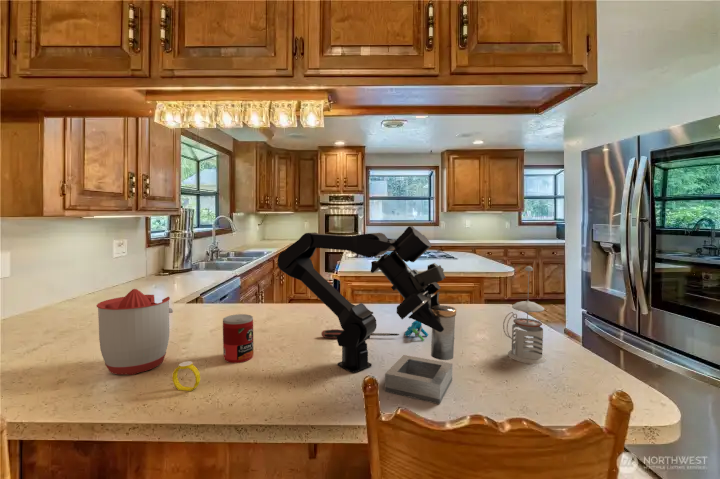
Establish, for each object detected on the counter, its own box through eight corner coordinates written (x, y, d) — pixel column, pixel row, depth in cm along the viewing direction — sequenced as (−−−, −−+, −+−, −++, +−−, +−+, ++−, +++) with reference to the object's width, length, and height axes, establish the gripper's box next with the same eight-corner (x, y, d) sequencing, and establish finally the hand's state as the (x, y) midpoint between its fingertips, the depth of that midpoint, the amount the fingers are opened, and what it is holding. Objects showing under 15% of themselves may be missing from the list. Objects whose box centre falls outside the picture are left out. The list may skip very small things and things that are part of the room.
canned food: (241, 365, 91) (240, 323, 91) (216, 360, 94) (215, 320, 93) (259, 354, 98) (259, 315, 98) (236, 350, 101) (235, 313, 101)
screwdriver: (398, 337, 114) (399, 328, 113) (399, 340, 111) (399, 331, 110) (322, 336, 114) (322, 327, 114) (320, 339, 111) (320, 330, 111)
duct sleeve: (425, 355, 81) (427, 307, 80) (438, 349, 85) (440, 304, 84) (445, 362, 77) (447, 312, 76) (458, 356, 81) (461, 308, 80)
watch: (170, 392, 77) (168, 366, 77) (179, 386, 80) (176, 361, 80) (195, 393, 76) (193, 366, 76) (203, 387, 79) (201, 360, 79)
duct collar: (385, 391, 77) (385, 373, 77) (403, 370, 88) (403, 354, 88) (439, 404, 72) (440, 384, 72) (452, 380, 83) (452, 363, 83)
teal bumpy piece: (406, 324, 121) (427, 307, 117) (418, 337, 120) (440, 320, 117) (399, 339, 111) (422, 320, 107) (413, 353, 110) (436, 334, 107)
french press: (555, 362, 93) (558, 268, 92) (514, 365, 92) (517, 269, 90) (531, 349, 103) (533, 263, 102) (494, 351, 101) (496, 264, 100)
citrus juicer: (190, 358, 96) (188, 284, 95) (125, 385, 80) (122, 297, 79) (151, 349, 102) (149, 280, 101) (84, 372, 86) (81, 291, 85)
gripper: (412, 256, 73) (465, 316, 69) (433, 249, 90) (477, 297, 86) (376, 290, 77) (424, 348, 73) (403, 277, 94) (443, 324, 90)
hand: (444, 327), depth 80 cm, fingers closed on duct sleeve, 5 cm apart
